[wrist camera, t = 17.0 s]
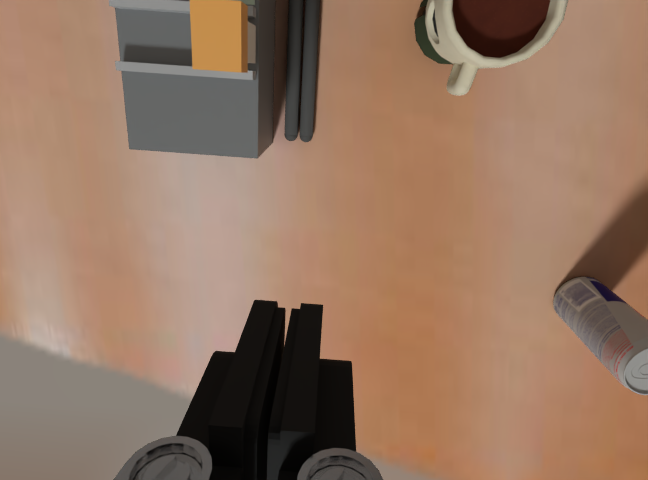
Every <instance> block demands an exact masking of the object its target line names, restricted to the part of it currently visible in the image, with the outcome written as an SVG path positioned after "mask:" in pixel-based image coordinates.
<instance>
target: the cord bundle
mask: <svg viewBox="0 0 648 480" xmlns="http://www.w3.org/2000/svg"><path fill="white" fill-rule="evenodd" d="M319 12H320V0H306V5H305V28H304V50H303V72H302V95H301V117H300V138H301V140H302V141H304V142H309V141H310V140H311V139H312V137H313V120H314V102H315V84H316V66H317V48H318V30H319ZM302 20H303V0H289V13H288V45H287V76H286V107H285V137H286V139H287V140H289V141H293V140H295V139H296V138H297V135H298V113H299V90H300V67H301V43H302Z"/></svg>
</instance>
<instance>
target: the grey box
mask: <svg viewBox="0 0 648 480" xmlns="http://www.w3.org/2000/svg"><path fill="white" fill-rule="evenodd" d="M232 1H242V2H243V3H244V4H246V5H247V6H248V22H250V23H252V24H253V25H255V26H256V55H255V63H248V73H240V72H226V71H212V70H198V69H193V68H192V45H191V22H190V0H109V6H112V7H115V11H116V21H117V31H118V41H119V51H120V61H115V64H116V70H119V71H122V81H123V91H124V101H125V111H126V121H127V131H128V141H129V149H135V150H148V151H162V152H176V153H190V154H204V155H217V156H231V157H245V158H259V156H260V155H261V154H262V153H263V152H264V151H265V150H266V149H267V148H268V147H269V146H270V145H271V144H272V143H273V97H274V51H275V6H276V0H232Z"/></svg>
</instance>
